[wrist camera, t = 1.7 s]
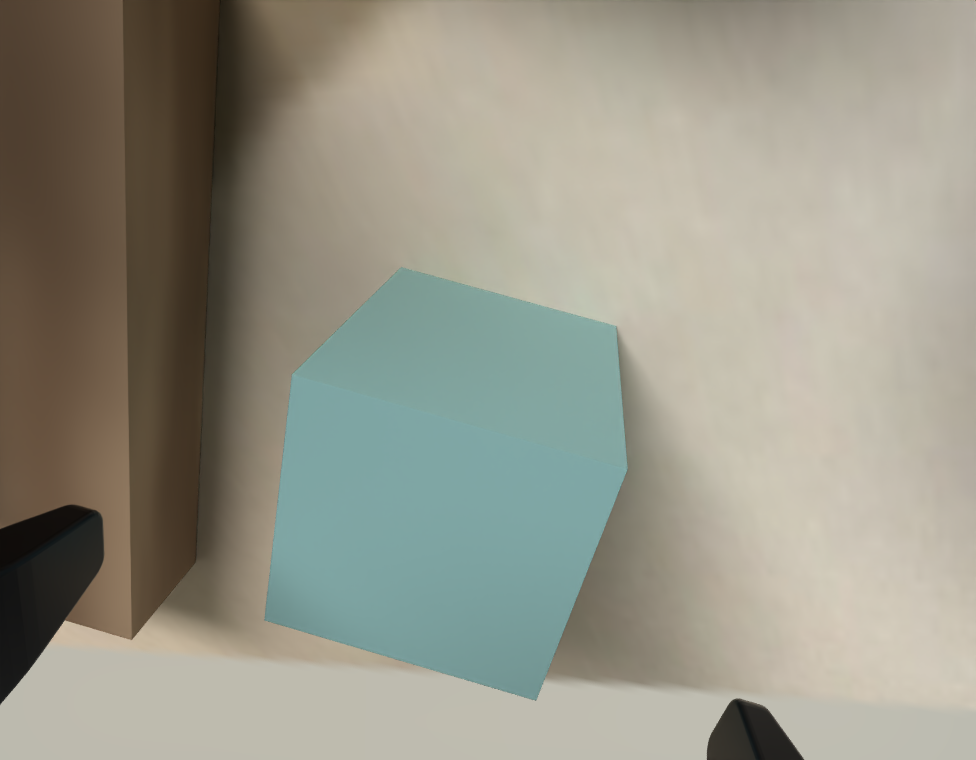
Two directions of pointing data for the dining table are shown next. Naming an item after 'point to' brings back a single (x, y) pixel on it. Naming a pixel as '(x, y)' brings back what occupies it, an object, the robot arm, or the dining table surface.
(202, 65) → the walnut base plate
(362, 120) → the dining table surface
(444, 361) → the teal block
